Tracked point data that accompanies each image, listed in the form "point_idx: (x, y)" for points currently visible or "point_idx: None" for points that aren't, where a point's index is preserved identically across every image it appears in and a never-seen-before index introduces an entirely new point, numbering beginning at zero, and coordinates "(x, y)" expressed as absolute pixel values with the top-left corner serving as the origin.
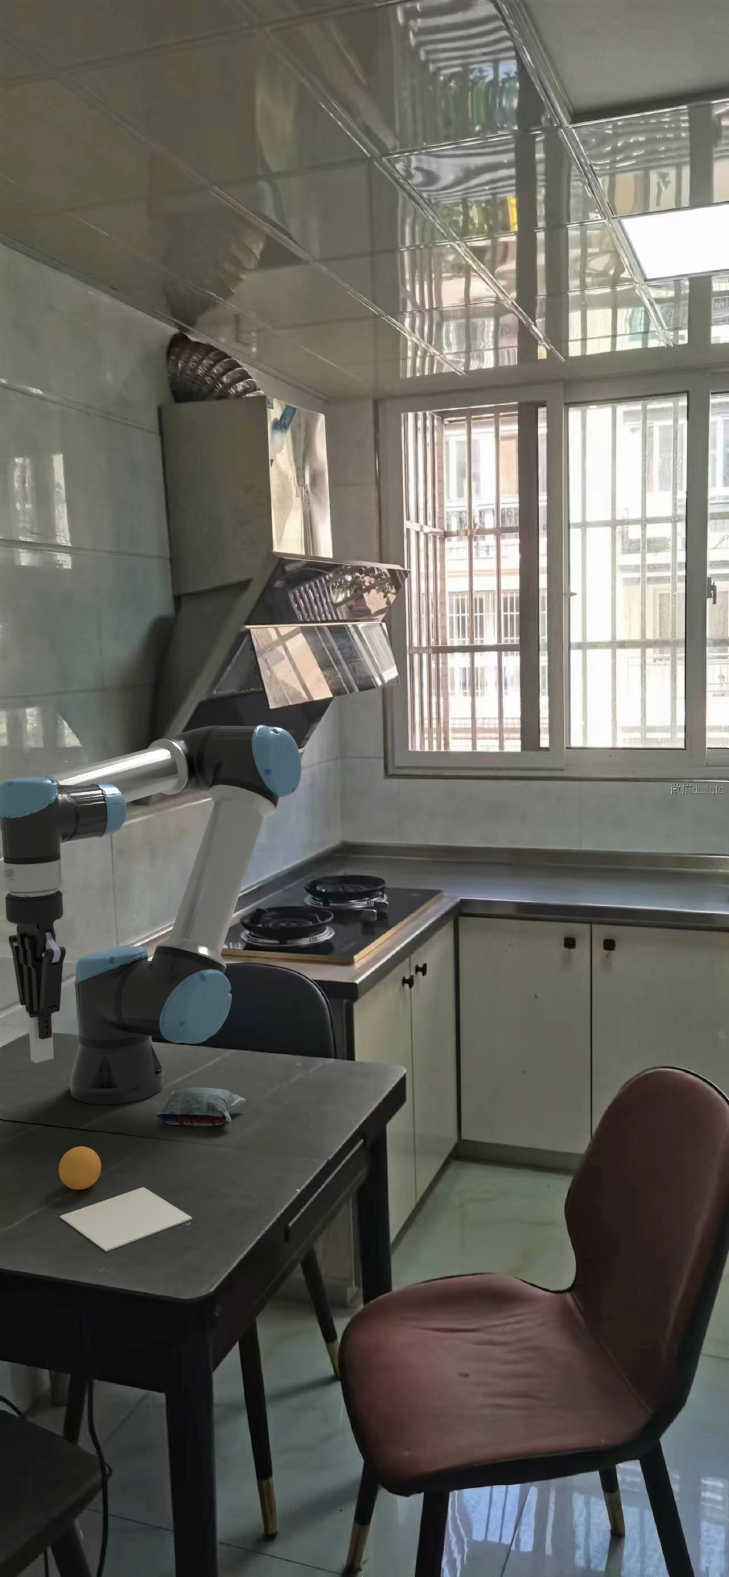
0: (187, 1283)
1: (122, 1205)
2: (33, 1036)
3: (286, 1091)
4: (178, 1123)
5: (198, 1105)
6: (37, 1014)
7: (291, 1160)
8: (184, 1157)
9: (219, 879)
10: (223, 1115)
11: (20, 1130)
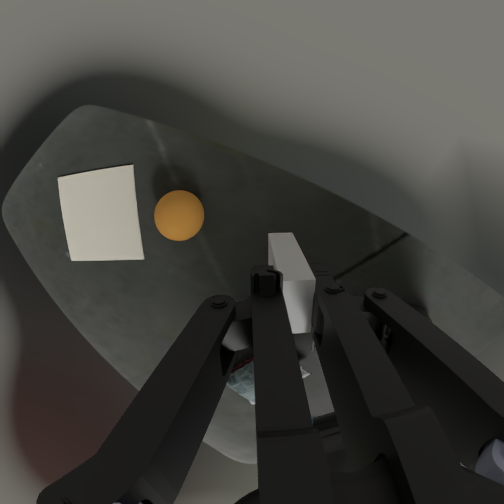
0: (8, 210)
1: (118, 224)
2: (278, 255)
3: None
4: None
5: (243, 375)
6: (252, 291)
7: (133, 368)
8: (188, 320)
9: None
10: None
11: (382, 227)
